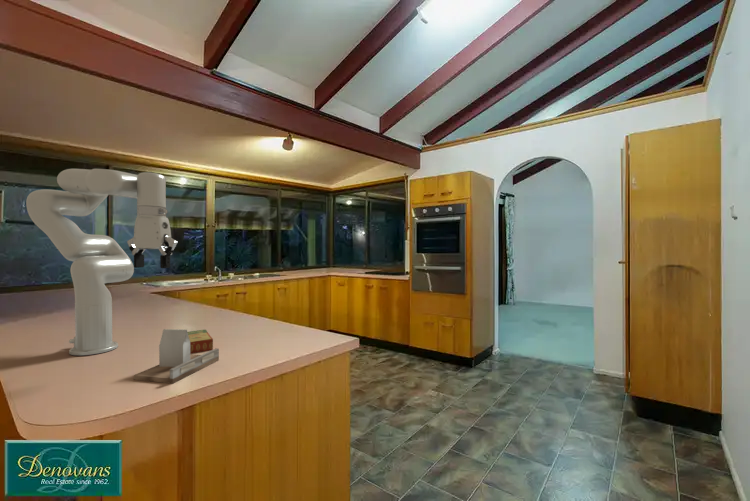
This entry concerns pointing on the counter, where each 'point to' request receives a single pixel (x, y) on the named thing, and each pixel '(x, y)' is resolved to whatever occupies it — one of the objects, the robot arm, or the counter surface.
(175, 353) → the tea bag
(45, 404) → the counter surface
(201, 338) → the carton
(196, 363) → the shelf board
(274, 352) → the counter surface
